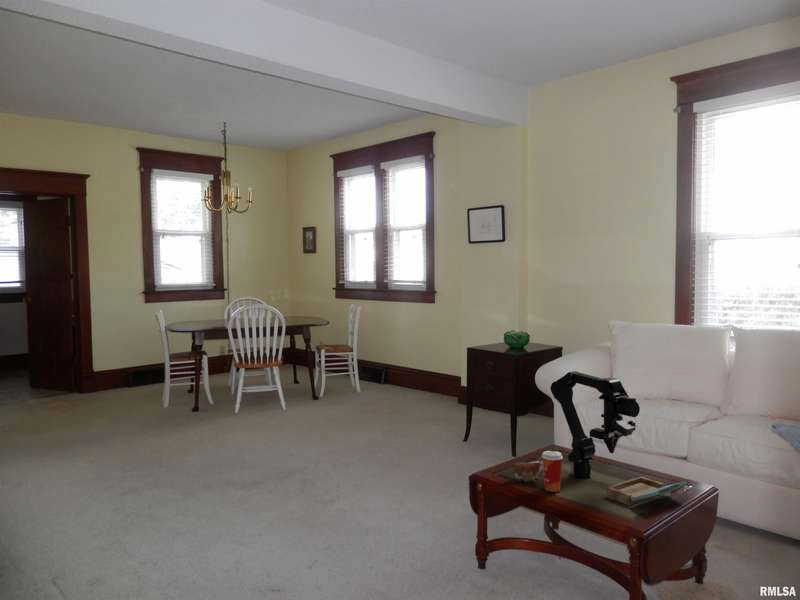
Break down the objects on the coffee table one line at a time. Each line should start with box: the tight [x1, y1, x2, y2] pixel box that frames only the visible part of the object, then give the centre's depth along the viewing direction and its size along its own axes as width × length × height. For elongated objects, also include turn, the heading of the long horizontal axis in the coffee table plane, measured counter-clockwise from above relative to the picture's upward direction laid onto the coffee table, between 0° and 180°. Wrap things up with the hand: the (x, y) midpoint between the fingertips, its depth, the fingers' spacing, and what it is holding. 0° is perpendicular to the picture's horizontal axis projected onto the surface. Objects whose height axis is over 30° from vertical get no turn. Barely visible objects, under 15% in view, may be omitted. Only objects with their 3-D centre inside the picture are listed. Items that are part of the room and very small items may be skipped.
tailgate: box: [631, 480, 688, 501], centre depth 214 cm, size 1×20×9 cm
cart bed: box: [605, 475, 665, 506], centre depth 223 cm, size 10×20×4 cm, turn 123°
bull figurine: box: [512, 460, 543, 480], centre depth 240 cm, size 4×13×8 cm, turn 78°
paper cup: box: [541, 450, 563, 491], centre depth 229 cm, size 8×8×14 cm
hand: (611, 452), depth 231 cm, fingers closed
